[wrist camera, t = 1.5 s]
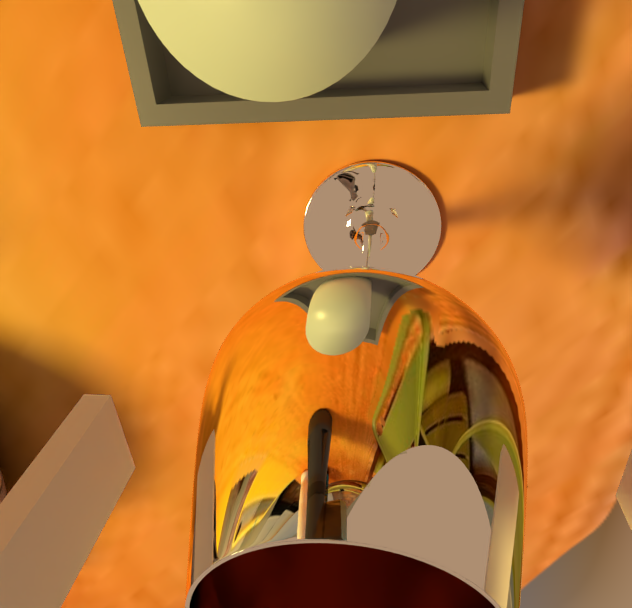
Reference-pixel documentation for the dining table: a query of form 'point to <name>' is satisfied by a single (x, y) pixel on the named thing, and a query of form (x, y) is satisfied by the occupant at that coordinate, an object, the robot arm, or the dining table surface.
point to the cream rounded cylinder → (268, 42)
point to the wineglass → (361, 427)
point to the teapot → (2, 488)
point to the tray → (363, 81)
